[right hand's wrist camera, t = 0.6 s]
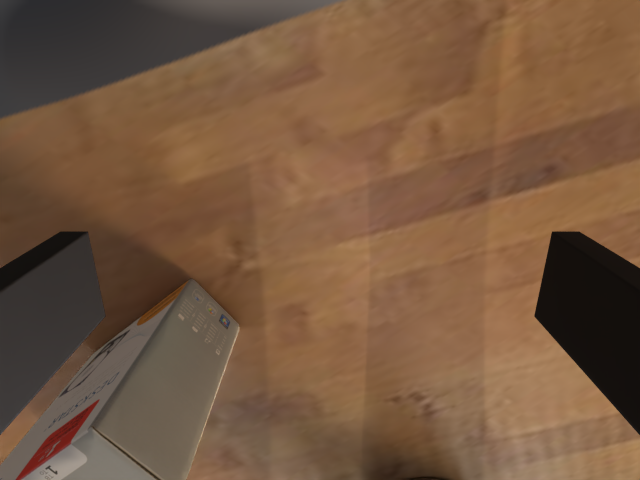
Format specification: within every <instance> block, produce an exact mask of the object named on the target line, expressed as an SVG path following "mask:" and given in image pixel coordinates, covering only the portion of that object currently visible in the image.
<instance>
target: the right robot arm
mask: <svg viewBox="0 0 640 480" xmlns="http://www.w3.org/2000/svg"><path fill="white" fill-rule="evenodd" d="M104 318H105V311H104V306H103V302H102V297H101V292H100V287H99V283H98V278H97V273H96V268H95V263H94V259H93V254H92V249H91V244H90V240H89V235H88V232H59V233H58V234H56V235H54V236H53V237H51V238H49V239H48V240H46V241H44V242H43V243H41V244H40V245H38V246H36V247H35V248H33V249H31V250H30V251H28V252H26V253H25V254H23V255H21V256H20V257H18V258H16V259H15V260H13V261H11V262H10V263H8V264H6V265H5V266H3V267H2V268H0V435H1V434H2V432H3V431H4V430H5V429H6V428H7V427H8V426H9V425H10V423H11V422H12V421H13V420H14V419H15V418H16V417H17V416H18V414H19V413H20V412H21V411H22V410H23V409H24V408H25V406H26V405H27V404H28V403H29V402H30V401H31V400H32V399H33V397H34V396H35V395H36V394H37V393H38V392H39V391H40V390H41V388H42V387H43V386H44V385H45V384H46V383H47V382H48V381H49V379H50V378H51V377H52V376H53V375H54V374H55V373H56V372H57V370H58V369H59V368H60V367H61V366H62V365H63V364H64V363H65V361H66V360H67V359H68V358H69V357H70V356H71V355H72V354H73V352H74V351H75V350H76V349H77V348H78V347H79V346H80V345H81V343H82V342H83V341H84V340H85V339H86V338H87V337H88V336H89V334H90V333H91V332H92V331H93V330H94V329H95V328H96V327H97V325H98V324H99V323H100V322H101V321H102V320H103V319H104ZM535 318H536V319H537V320H538V321H539V322H540V323H541V324H542V325H543V327H544V328H545V329H546V330H547V331H548V332H549V333H550V334H551V336H552V337H553V338H554V339H555V340H556V341H557V342H558V343H559V345H560V346H561V347H562V348H563V349H564V350H565V351H566V352H567V354H568V355H569V356H570V357H571V358H572V359H573V360H574V361H575V363H576V364H577V365H578V366H579V367H580V368H581V369H582V370H583V372H584V373H585V374H586V375H587V376H588V377H589V378H590V379H591V381H592V382H593V383H594V384H595V385H596V386H597V387H598V388H599V390H600V391H601V392H602V393H603V394H604V395H605V396H606V397H607V399H608V400H609V401H610V402H611V403H612V404H613V405H614V406H615V408H616V409H617V410H618V411H619V412H620V413H621V414H622V416H623V417H624V418H625V419H626V420H627V421H628V422H629V423H630V425H631V426H632V427H633V428H634V429H635V430H636V431H637V432H638V434H639V435H640V268H638V267H637V266H635V265H634V264H632V263H630V262H629V261H627V260H625V259H624V258H622V257H620V256H619V255H617V254H615V253H614V252H612V251H610V250H609V249H607V248H605V247H604V246H602V245H600V244H599V243H597V242H596V241H594V240H592V239H591V238H589V237H587V236H586V235H584V234H582V233H581V232H552V235H551V240H550V244H549V249H548V254H547V259H546V263H545V268H544V273H543V278H542V283H541V287H540V292H539V297H538V302H537V306H536V311H535ZM412 480H441V479H434V478H420V479H412Z"/></svg>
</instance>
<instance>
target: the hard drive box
mask: <svg viewBox="0 0 640 480" xmlns="http://www.w3.org/2000/svg"><path fill="white" fill-rule="evenodd" d="M239 329H240V327H239V324H238V323H237V322H236V321H235V320H234V319H233V318H232V317H231V316H230V315H229V314H228V313H227V312H226V311H225V310H224V309H223V308H222V307H221V306H220V305H219V304H218V303H217V302H216V301H215V300H214V299H213V298H212V297H211V296H210V295H209V294H208V293H207V292H206V291H205V290H204V289H203V288H202V287H201V286H200V285H199V284H198V283H197V282H196V281H195V280H194V279H189V280H188V281H187V282H185V283H184V284H183V285H181V286H180V287H179V288H177V289H176V290H175V291H174V292H172V293H171V294H170V295H168V296H167V297H166V298H164V299H163V300H162V301H161V302H159V303H158V304H157V305H156V306H154V307H153V308H152V309H150V310H149V311H148V312H146V313H145V314H144V315H143V316H141V317H140V318H139V319H137V320H136V321H135V322H133V323H132V324H131V325H129V326H128V327H127V328H126V329H124V330H123V331H122V332H120V333H119V334H118V335H116V336H115V337H114V338H113V339H111V340H110V341H109V342H107V343H106V344H105V345H104V346H102V347H101V348H100V349H98V350H97V351H96V352H95V353H93V354H92V356H91V357H90V358H89V359H88V360H87V362H86V363H85V364H84V365H83V366H82V368H81V369H80V370H79V371H78V372H77V373H76V375H75V376H74V377H73V378H72V379H71V381H70V382H69V383H68V384H67V386H66V387H65V388H64V389H63V390H62V392H61V393H60V394H59V395H58V396H57V398H56V399H55V400H54V401H53V403H52V404H51V405H50V406H49V407H48V409H47V410H46V411H45V412H44V413H43V415H42V416H41V417H40V418H39V419H38V421H37V422H36V423H35V424H34V425H33V427H32V428H31V429H30V430H29V432H28V433H27V434H26V435H25V436H24V438H23V439H22V440H21V441H20V442H19V443H18V445H17V446H16V447H15V448H14V449H13V451H12V452H11V453H10V454H9V455H8V457H7V458H6V459H5V460H4V461H3V463H2V464H1V465H0V480H186V479H187V477H188V474H189V471H190V469H191V465H192V462H193V459H194V456H195V453H196V450H197V448H198V445H199V442H200V439H201V436H202V433H203V430H204V428H205V425H206V422H207V419H208V416H209V414H210V411H211V408H212V405H213V402H214V400H215V397H216V394H217V391H218V388H219V385H220V383H221V380H222V377H223V374H224V371H225V369H226V366H227V363H228V360H229V357H230V355H231V352H232V349H233V346H234V343H235V341H236V338H237V335H238V332H239Z"/></svg>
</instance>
